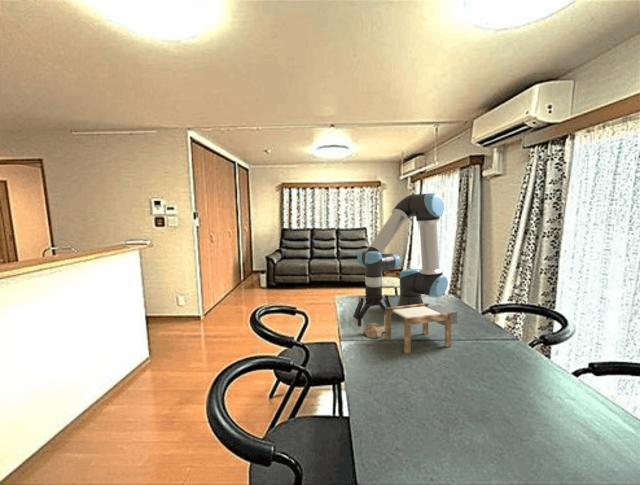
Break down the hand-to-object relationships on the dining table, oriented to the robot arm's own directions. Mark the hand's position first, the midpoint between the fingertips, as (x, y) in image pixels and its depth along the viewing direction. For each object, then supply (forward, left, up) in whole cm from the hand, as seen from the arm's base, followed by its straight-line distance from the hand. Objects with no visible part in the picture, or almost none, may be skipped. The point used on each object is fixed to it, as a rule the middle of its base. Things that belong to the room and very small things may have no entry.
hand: (373, 331), depth 165 cm
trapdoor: (-16, +17, +8) cm, 24 cm away
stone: (0, +1, -1) cm, 2 cm away
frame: (-12, +17, -1) cm, 21 cm away
